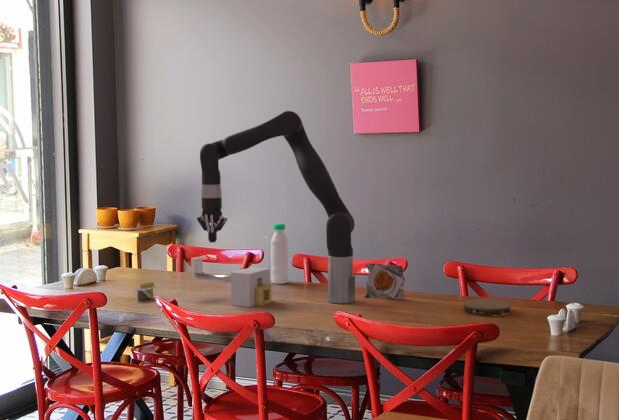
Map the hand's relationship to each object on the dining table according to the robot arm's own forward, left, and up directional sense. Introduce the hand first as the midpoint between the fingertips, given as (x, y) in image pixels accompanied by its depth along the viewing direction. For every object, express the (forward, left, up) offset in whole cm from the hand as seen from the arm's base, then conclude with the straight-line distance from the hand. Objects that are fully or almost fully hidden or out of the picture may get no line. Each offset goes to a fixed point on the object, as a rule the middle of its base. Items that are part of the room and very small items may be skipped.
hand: (212, 242), depth 307 cm
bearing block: (-17, 0, -22) cm, 28 cm away
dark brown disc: (-98, -27, -22) cm, 104 cm away
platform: (+21, +14, -22) cm, 33 cm away
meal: (-57, -31, -22) cm, 69 cm away
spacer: (-23, 0, -22) cm, 31 cm away
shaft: (-5, 0, -15) cm, 15 cm away
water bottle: (-5, -40, -22) cm, 46 cm away
